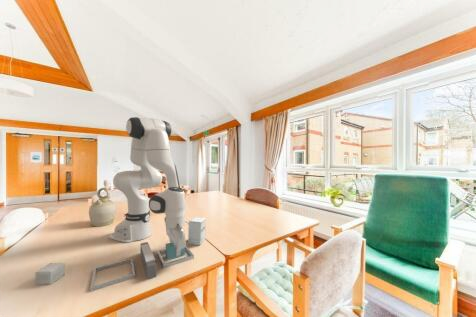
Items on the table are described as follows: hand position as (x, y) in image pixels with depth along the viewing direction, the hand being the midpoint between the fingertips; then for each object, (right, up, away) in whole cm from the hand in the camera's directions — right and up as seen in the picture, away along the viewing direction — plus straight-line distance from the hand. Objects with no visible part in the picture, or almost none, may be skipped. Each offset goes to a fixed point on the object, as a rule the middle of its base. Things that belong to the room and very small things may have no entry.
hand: (175, 250), depth 85 cm
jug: (-65, -2, +40) cm, 76 cm away
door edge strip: (-10, -3, -7) cm, 12 cm away
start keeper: (0, -3, 0) cm, 3 cm away
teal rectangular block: (0, -3, 0) cm, 3 cm away
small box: (-41, -2, -17) cm, 45 cm away
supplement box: (+7, -3, +15) cm, 17 cm away
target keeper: (-20, -2, -13) cm, 24 cm away
